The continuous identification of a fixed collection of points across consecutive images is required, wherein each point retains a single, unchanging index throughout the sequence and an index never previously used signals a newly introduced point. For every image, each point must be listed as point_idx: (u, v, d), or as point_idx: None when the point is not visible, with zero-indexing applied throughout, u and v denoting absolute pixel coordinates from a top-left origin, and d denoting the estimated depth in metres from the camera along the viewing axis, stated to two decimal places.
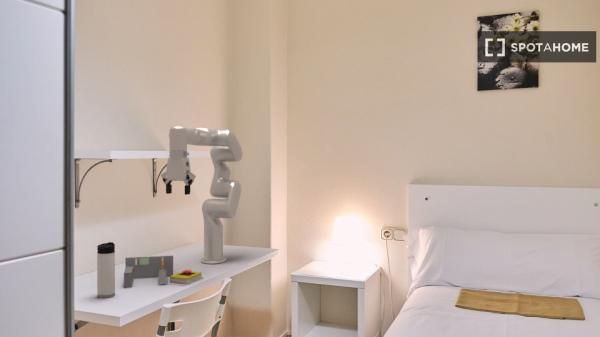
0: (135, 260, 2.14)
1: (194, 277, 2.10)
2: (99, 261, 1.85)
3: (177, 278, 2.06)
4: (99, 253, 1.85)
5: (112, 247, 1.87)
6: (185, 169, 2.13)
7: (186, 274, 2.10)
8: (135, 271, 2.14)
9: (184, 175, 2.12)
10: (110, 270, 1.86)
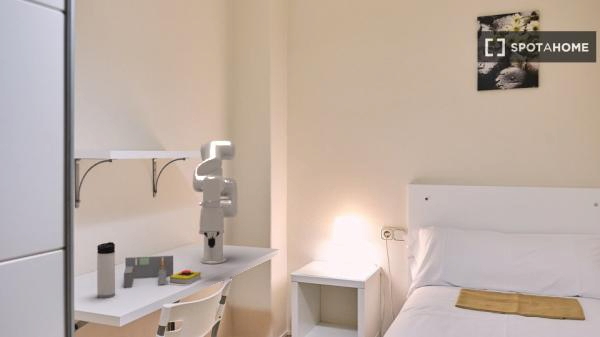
0: (135, 260, 2.14)
1: (194, 277, 2.10)
2: (99, 261, 1.85)
3: (177, 278, 2.06)
4: (99, 253, 1.85)
5: (112, 247, 1.87)
6: None
7: (186, 274, 2.10)
8: (135, 271, 2.14)
9: None
10: (110, 270, 1.86)
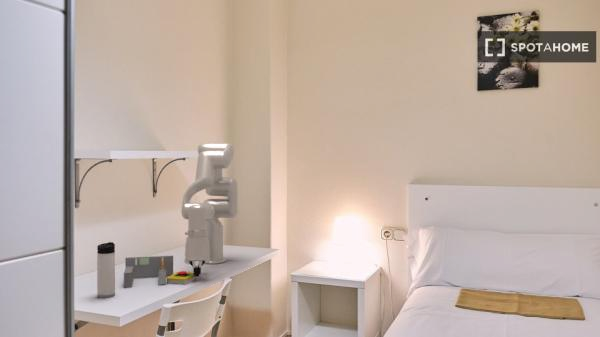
0: (135, 260, 2.14)
1: (191, 278, 2.10)
2: (99, 261, 1.85)
3: (175, 279, 2.06)
4: (99, 253, 1.85)
5: (112, 247, 1.87)
6: None
7: (182, 275, 2.10)
8: (135, 271, 2.14)
9: None
10: (110, 270, 1.86)
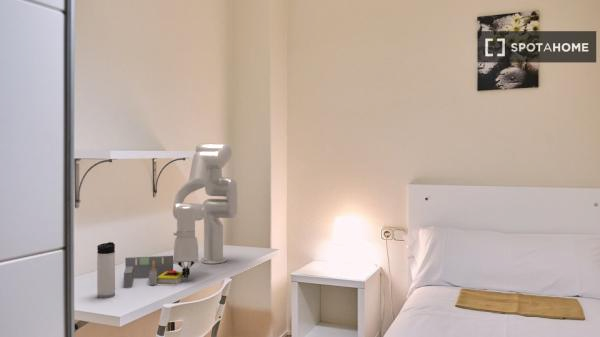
0: (135, 260, 2.14)
1: (181, 276, 2.10)
2: (99, 261, 1.85)
3: (165, 279, 2.05)
4: (99, 253, 1.85)
5: (112, 247, 1.87)
6: None
7: (172, 274, 2.10)
8: (135, 271, 2.14)
9: None
10: (110, 270, 1.86)
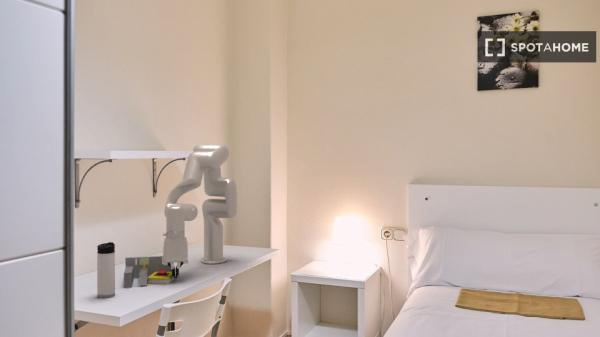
0: (135, 260, 2.14)
1: (171, 277, 2.10)
2: (99, 261, 1.85)
3: (156, 279, 2.05)
4: (99, 253, 1.85)
5: (112, 247, 1.87)
6: None
7: (163, 274, 2.10)
8: (135, 271, 2.14)
9: None
10: (110, 270, 1.86)
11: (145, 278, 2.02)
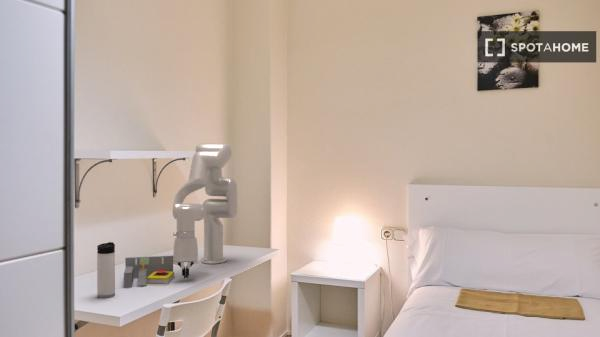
0: (135, 260, 2.14)
1: (171, 276, 2.10)
2: (99, 261, 1.85)
3: (156, 279, 2.05)
4: (99, 253, 1.85)
5: (112, 247, 1.87)
6: None
7: (162, 274, 2.10)
8: (135, 271, 2.14)
9: None
10: (110, 270, 1.86)
11: (144, 278, 2.02)
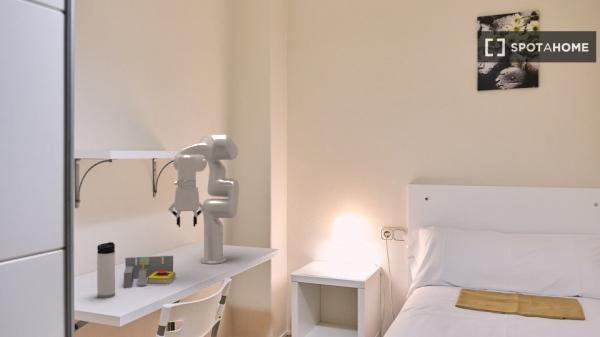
0: (135, 260, 2.14)
1: (171, 276, 2.10)
2: (99, 261, 1.85)
3: (156, 279, 2.05)
4: (99, 253, 1.85)
5: (112, 247, 1.87)
6: None
7: (163, 274, 2.10)
8: (135, 271, 2.14)
9: None
10: (110, 270, 1.86)
11: (144, 278, 2.02)
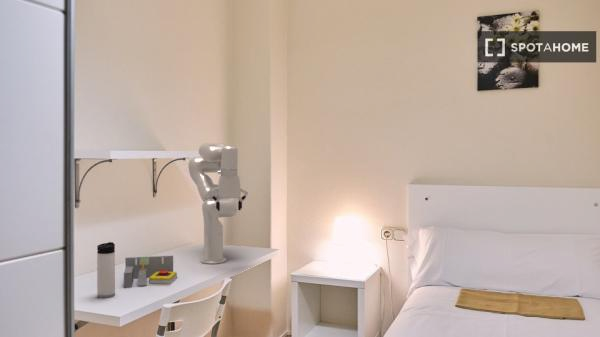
0: (135, 260, 2.14)
1: (173, 277, 2.10)
2: (99, 261, 1.85)
3: (158, 279, 2.05)
4: (99, 253, 1.85)
5: (112, 247, 1.87)
6: None
7: (164, 274, 2.09)
8: (135, 271, 2.14)
9: None
10: (110, 270, 1.86)
11: (144, 278, 2.02)
